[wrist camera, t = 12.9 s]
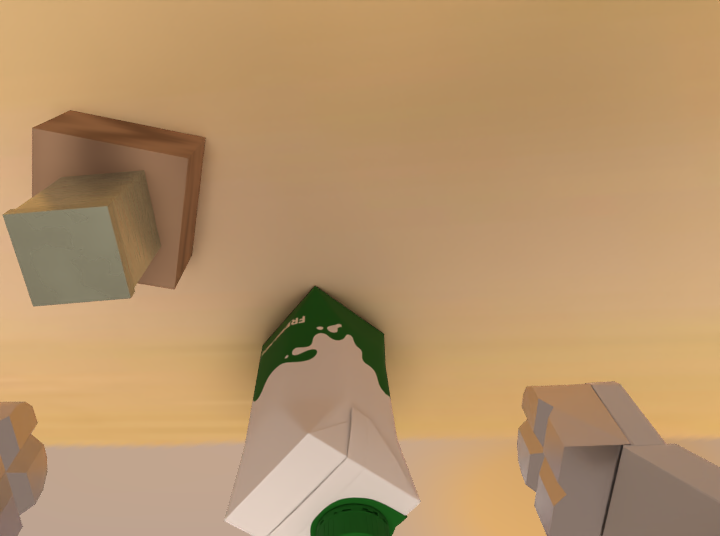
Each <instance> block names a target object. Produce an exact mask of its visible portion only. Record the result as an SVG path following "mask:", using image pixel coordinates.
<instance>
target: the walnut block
mask: <svg viewBox="0 0 720 536" xmlns="http://www.w3.org/2000/svg"><path fill="white" fill-rule="evenodd" d="M204 146H205V137H200V136H195V135H190V134H185V133H180V132H175V131H170V130H165V129H160V128H155V127H150V126H145V125H140V124H135V123H130V122H125V121H120V120H115V119H110V118H105V117H100V116H95V115H90V114H86V113H81V112H76V111H71V110H70V111H68V112H66V113H64V114H61V115H59V116H57V117H55V118H53V119H51V120H49V121H46V122H44V123H42V124H40V125H38V126H36V127H33V128H32V197H34V196H35V195H37V194H38V193H39V192H41V191H42V190H44V189H45V188H47V187H48V186H50V185H51V184H52V183H54V182H55V181H57V180H58V179H60V178H61V177H69V176H81V175H93V174H106V173H118V172H130V171H143V170H144V171H145V176H146V180H147V185H148V189H149V194H150V198H151V203H152V207H153V212H154V216H155V221H156V225H157V230H158V234H159V239H160V243H161V247H160V249H159V250H158V252H157V253H156V255H155V257H154V258H153V260H152V261H151V263H150V264H149V266H148V267H147V269H146V270H145V272H144V273H143V275H142V277H141V278H140V280H139V281H138V283H139V284H145V285H151V286H157V287H163V288H169V289H175V287H176V285H177V283H178V281H179V279H180V277H181V275H182V273H183V272H184V270H185V268H186V266H187V264H188V262H189V260H190V258H191V256H192V249H193V241H194V232H195V224H196V215H197V206H198V198H199V189H200V181H201V172H202V163H203V155H204Z"/></svg>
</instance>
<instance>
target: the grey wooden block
mask: <svg viewBox="0 0 720 536" xmlns="http://www.w3.org/2000/svg"><path fill="white" fill-rule="evenodd" d="M3 217H4V220H5V223H6V226H7V229H8V232H9V235H10V238H11V241H12V244H13V247H14V250H15V253H16V256H17V259H18V262H19V265H20V268H21V271H22V274H23V277H24V280H25V283H26V286H27V289H28V292H29V295H30V298H31V301H32V304H33V306H44V305H56V304H68V303H79V302H91V301H103V300H115V299H127V298H131V297H132V295H133V294H134V292H135V289H134V287H135V286H136V284H137V283H138V281H139V280H140V278H141V277H142V275H143V273H144V272H145V270H146V269H147V267H148V266H149V264H150V263H151V261H152V260H153V258H154V257H155V255H156V253H157V252H158V250H159V249H160V247H161V243H160V239H159V234H158V230H157V225H156V221H155V216H154V212H153V207H152V203H151V198H150V194H149V189H148V185H147V180H146V176H145V171H144V170H143V171H130V172H118V173H106V174H93V175H81V176H69V177H61V178H60V179H58V180H57V181H55V182H54V183H52V184H51V185H50V186H48V187H47V188H45V189H44V190H42V191H41V192H39V193H38V194H37V195H35V196H34V197H32V198H31V199H29V200H28V201H27V202H25V203H24V204H22V205H21V206H19V207H18V208H17V209H10V210H9V211H7V212H6V213H4V214H3Z"/></svg>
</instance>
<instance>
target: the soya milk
mask: <svg viewBox="0 0 720 536" xmlns="http://www.w3.org/2000/svg"><path fill="white" fill-rule="evenodd" d="M419 503H420V499H419V496H418V494H417V491H416V488H415V485H414V483H413V480H412V477H411V475H410V472H409V469H408V467H407V464H406V461H405V459H404V456H403V453H402V451H401V448H400V445H399V442H398V439H397V435H396V429H395V423H394V417H393V411H392V405H391V398H390V392H389V386H388V380H387V373H386V367H385V347H384V334H383V333H382V332H380V331H379V330H377V329H376V328H375V327H373V326H372V325H370V324H369V323H367V322H366V321H365V320H363V319H362V318H360V317H359V316H357V315H356V314H355V313H353V312H352V311H350V310H349V309H347V308H346V307H345V306H343V305H342V304H340V303H339V302H338V301H336V300H335V299H333V298H332V297H330V296H329V295H328V294H326V293H325V292H323V291H322V290H320V289H319V288H318V287H316V286H314V288H313V289H312V290H311V291H310V292H309V293H308V294H307V296H306V297H305V298H304V299H303V300H302V301H301V302H300V304H299V305H298V306H297V307H296V308H295V309H294V310H293V312H292V313H291V314H290V315H289V316H288V317H287V318H286V320H285V321H284V322H283V323H282V324H281V325H280V326H279V328H278V329H277V330H276V331H275V332H274V333H273V334H272V336H271V337H270V338H269V339H268V340H267V341H266V343H265V344H264V345H263V346H262V352H261V357H260V363H259V369H258V375H257V380H256V386H255V391H254V397H253V403H252V408H251V414H250V419H249V425H248V431H247V436H246V441H245V446H244V450H243V454H242V458H241V461H240V465H239V469H238V472H237V476H236V480H235V483H234V487H233V491H232V494H231V498H230V502H229V505H228V509H227V512H226V515H225V519H224V521H225V522H227V523H229V524H231V525H233V526H235V527H237V528H239V529H241V530H243V531H244V532H247V533H248V534H250V535H252V536H392V534H393V532H394V530H395V527H396V526H397V525H399V524H400V523H401V522H402V521H404V519H406V518H407V514H408V513H409V512H410V511H411V510H413V509H414V508H415V507H416V506H417V505H418V504H419Z"/></svg>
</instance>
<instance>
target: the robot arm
mask: <svg viewBox="0 0 720 536" xmlns="http://www.w3.org/2000/svg"><path fill="white" fill-rule="evenodd" d="M522 408H523V411H524V413H525V415H526V417H527V420H526V421H525V422H524V423H523V424H522V425H521V426H520V427H519V431H518V441H517V450H518V461H519V465H520V469H521V473H522V476H523V478H524V481H525V484H526V485H527V486H528V487H530V488H531V489H533V490H534V491H535V492H536V499H535V508H536V511H537V513H538V515H539V518H540V520H541V523H542V525H543V527H544V529H545V532H546V534H547V536H720V467H718V466H717V465H714V464H713V463H711V462H709V461H707V460H705V459H703V458H701V457H699V456H698V455H696V454H694V453H692V452H690V451H688V450H686V449H684V448H683V447H681V446H679V445H677V444H666V443H665V442H664V440H663V439H662V438H661V436H660V435H659V434H658V432H657V431H656V430H655V429H654V427H653V426H652V425H651V423H650V422H649V421H648V419H647V418H646V417H645V416H644V414H643V413H642V412H641V410H640V409H639V408H638V406H637V405H636V404H635V403H634V401H633V400H632V399H631V397H630V396H629V395H628V393H627V392H626V391H625V390H624V388H623V387H622V386H621V385H620V384H619V383H617V382H615V381H612V382H596V383H585V384H574V385H550V386H527V387H526V389H525V392H524V394H523V401H522ZM37 423H38V422H37V419H36V416H35V413H34V410H33V407H32V406H31V405H30V404H28V403H26V402H0V536H17V535H18V534H19V532H20V530H21V529H22V527H23V526H22V524H21V520H20V517H19V515H21V514H22V513H23V512H25V511H26V510H28V509H29V508H30V507H32V506H33V505H35V504H36V502H37V500H38V498H39V496H40V495H41V493H42V491H43V488H44V484H45V479H46V475H47V456H46V452H45V448H44V445H43V444H42V443H41V442H40V441H39V440H38V439H36V438H35V437H34V436H33V435H32V434H31V433H32V431H33V430H34V428H35V426H36V425H37Z"/></svg>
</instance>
